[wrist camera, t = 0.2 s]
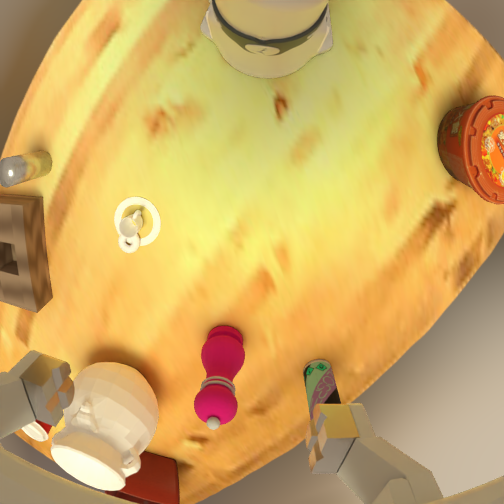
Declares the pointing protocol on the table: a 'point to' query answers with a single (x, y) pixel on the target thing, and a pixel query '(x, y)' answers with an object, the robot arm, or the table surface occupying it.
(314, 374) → the spray can
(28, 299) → the socket block
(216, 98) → the table surface
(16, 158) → the pin
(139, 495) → the plant pot
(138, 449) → the pitcher
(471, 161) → the food container
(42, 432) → the coffee cup
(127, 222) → the teacup and saucer
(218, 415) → the pepper mill
